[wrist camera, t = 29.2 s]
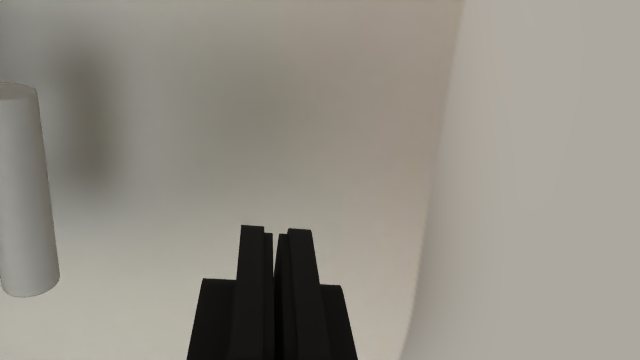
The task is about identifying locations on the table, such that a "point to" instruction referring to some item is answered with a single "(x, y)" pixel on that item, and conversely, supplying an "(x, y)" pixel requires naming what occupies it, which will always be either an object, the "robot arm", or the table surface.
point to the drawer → (24, 197)
